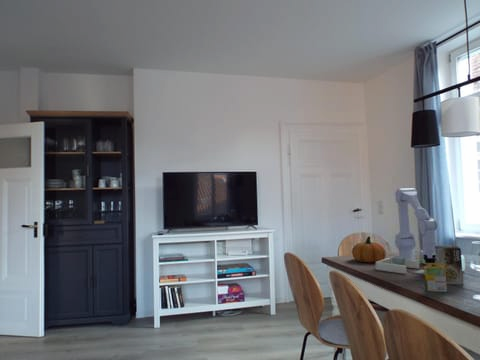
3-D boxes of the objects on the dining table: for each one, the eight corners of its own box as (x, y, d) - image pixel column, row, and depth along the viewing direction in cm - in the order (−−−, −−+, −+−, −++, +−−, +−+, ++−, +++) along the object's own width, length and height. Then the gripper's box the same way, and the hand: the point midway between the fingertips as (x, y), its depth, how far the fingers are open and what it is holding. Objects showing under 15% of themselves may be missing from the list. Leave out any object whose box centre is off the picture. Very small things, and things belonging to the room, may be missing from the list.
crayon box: (444, 290, 138) (442, 261, 139) (447, 292, 135) (445, 263, 136) (425, 289, 140) (423, 261, 141) (427, 291, 137) (426, 263, 138)
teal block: (396, 268, 183) (395, 257, 183) (405, 269, 179) (404, 258, 180) (392, 269, 180) (392, 258, 181) (402, 270, 177) (401, 259, 177)
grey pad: (421, 270, 176) (421, 269, 176) (440, 272, 169) (440, 272, 169) (414, 273, 170) (414, 272, 170) (433, 275, 163) (433, 275, 163)
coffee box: (459, 281, 151) (457, 245, 152) (463, 285, 145) (461, 247, 146) (436, 280, 154) (434, 245, 155) (440, 283, 148) (437, 247, 149)
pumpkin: (346, 261, 206) (345, 237, 206) (361, 257, 218) (360, 234, 219) (377, 265, 191) (375, 239, 192) (391, 260, 204) (390, 236, 205)
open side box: (389, 264, 192) (389, 257, 192) (419, 268, 181) (418, 260, 181) (375, 269, 180) (375, 262, 181) (406, 273, 169) (405, 265, 169)
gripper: (419, 241, 178) (421, 266, 177) (419, 244, 165) (421, 272, 164) (435, 241, 174) (436, 267, 173) (436, 245, 161) (438, 273, 161)
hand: (430, 270), depth 168 cm, fingers open, 7 cm apart
